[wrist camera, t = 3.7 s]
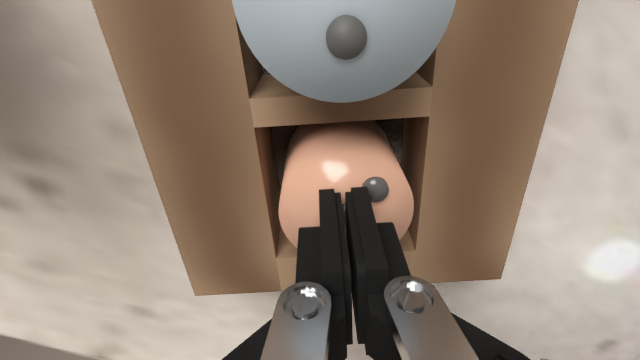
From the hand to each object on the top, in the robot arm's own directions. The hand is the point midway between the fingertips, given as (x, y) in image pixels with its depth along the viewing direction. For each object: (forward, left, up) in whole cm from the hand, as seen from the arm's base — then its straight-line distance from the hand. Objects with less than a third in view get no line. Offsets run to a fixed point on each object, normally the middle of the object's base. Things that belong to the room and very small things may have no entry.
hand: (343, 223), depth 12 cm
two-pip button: (0, -7, -3) cm, 8 cm away
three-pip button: (0, 0, -5) cm, 5 cm away
